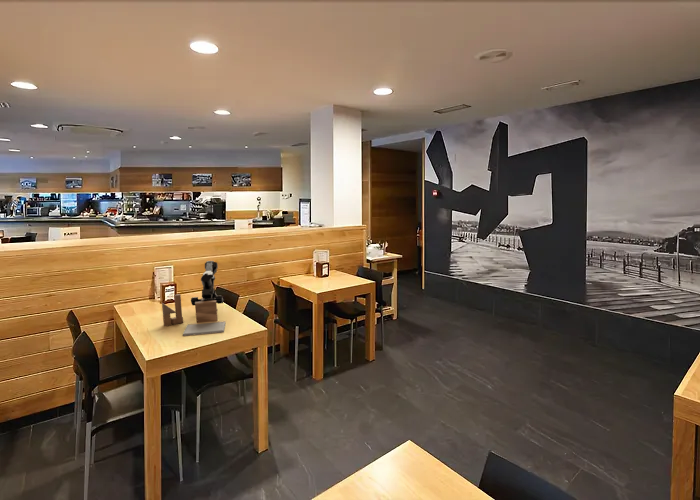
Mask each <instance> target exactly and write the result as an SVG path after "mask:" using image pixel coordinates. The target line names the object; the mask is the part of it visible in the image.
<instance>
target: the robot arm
mask: <svg viewBox="0 0 700 500" xmlns="http://www.w3.org/2000/svg"><path fill="white" fill-rule="evenodd" d="M218 264H219V263H218V262H216V261H214V260H207V261H206V262H204V270H205V271H204V272H203V273H202V276H201V277H200V282H201V285H202V289H201V298H199V296H195V297H191V298H190V303H191V305H192V306H194V307H195V302H200V301H214V300H216V304H224V298H223V297H224V296H222V295H221V294H220V295H217V293H216V290H215V280H216V277H215V274H216V273H217V272H218V271H217V270H218V269H219V268H218V267H219V265H218ZM217 311H218V308H217Z"/></svg>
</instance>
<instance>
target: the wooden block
mask: <svg viewBox="0 0 700 500" xmlns="http://www.w3.org/2000/svg"><path fill="white" fill-rule="evenodd" d="M181 295H182V294H180V293H177V294H174V309H175V310H173V309H172V308H171V307H170V306H168V305H166V304H165V303H163V302H161V307H162V319H163V321H162V322H163V326H164V327H168V326H172V325H178V324H183V323H184V317H183V311H182V310H183V309H182V298H181V297H182V296H181ZM172 314H175V317H171V315H172Z"/></svg>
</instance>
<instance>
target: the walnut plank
mask: <svg viewBox="0 0 700 500" xmlns="http://www.w3.org/2000/svg"><path fill="white" fill-rule="evenodd" d="M217 304H218V303H216V300H214V301H200V302H195V305H194V307H195V321H196V322H195V323H203V322H215V321H219V320H218V319H219V318H218V310H217V309H218V307H217Z"/></svg>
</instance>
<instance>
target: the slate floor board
mask: <svg viewBox="0 0 700 500" xmlns="http://www.w3.org/2000/svg"><path fill="white" fill-rule="evenodd" d="M226 321H227V320H218V321H215V322H203V323H197V322H193V323H187V325H186V326H185V328H184V331H183V333H182V336H184V337H185V336H196V335H209V334H219V333H224V332H225V328H226Z"/></svg>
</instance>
